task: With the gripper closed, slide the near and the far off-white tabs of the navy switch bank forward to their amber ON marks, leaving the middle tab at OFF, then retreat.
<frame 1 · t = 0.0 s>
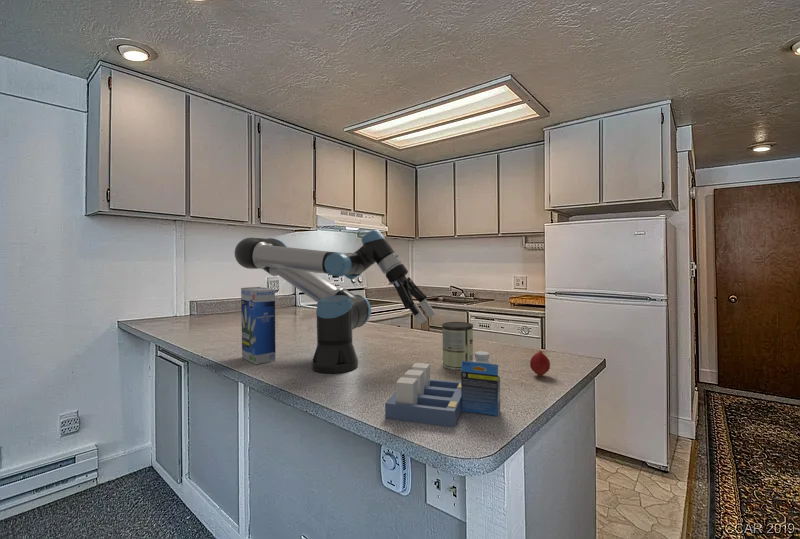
hand: (428, 319, 135), 15 cm above the countertop, tool tilted 35°, fingers open, 13 cm apart
supplement bottle: (481, 387, 111), on the countertop
tab middle: (414, 384, 98), point 5 cm above the countertop, slide at 0.0 cm
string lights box: (259, 359, 142), on the countertop
switch bank: (429, 406, 97), on the countertop
tab near: (407, 393, 92), point 5 cm above the countertop, slide at 0.0 cm
onion: (539, 376, 121), on the countertop
tab far: (420, 376, 105), point 5 cm above the countertop, slide at 0.0 cm
label tape box: (480, 412, 94), on the countertop
coffee can: (457, 366, 132), on the countertop
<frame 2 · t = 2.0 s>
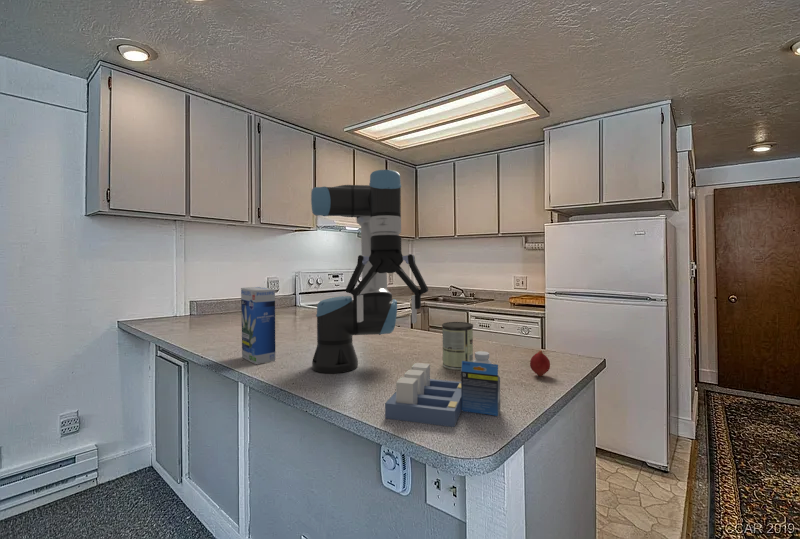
hand: (386, 322, 96), 21 cm above the countertop, tool pointing down, fingers open, 13 cm apart
nothing on the countertop moved.
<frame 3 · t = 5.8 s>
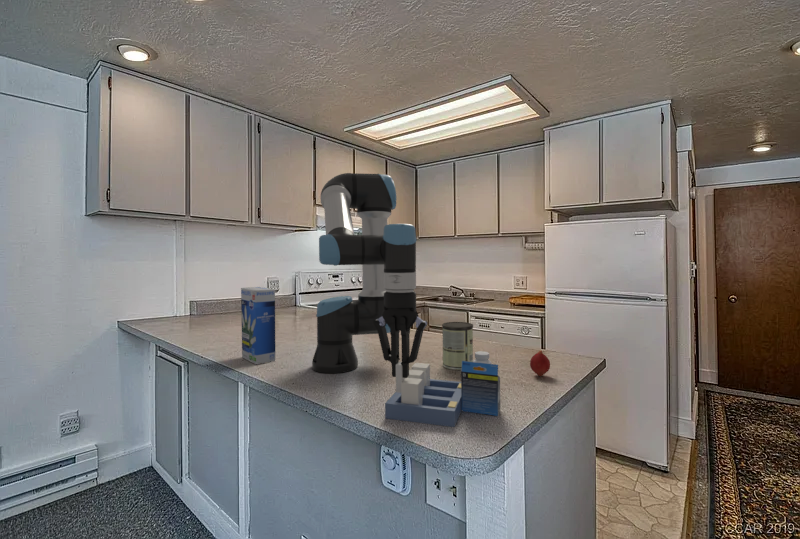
hand: (400, 390, 92), 6 cm above the countertop, tool pointing down, fingers closed
tab near: (412, 393, 92), point 5 cm above the countertop, slide at 1.2 cm, touching gripper
everything else where it was.
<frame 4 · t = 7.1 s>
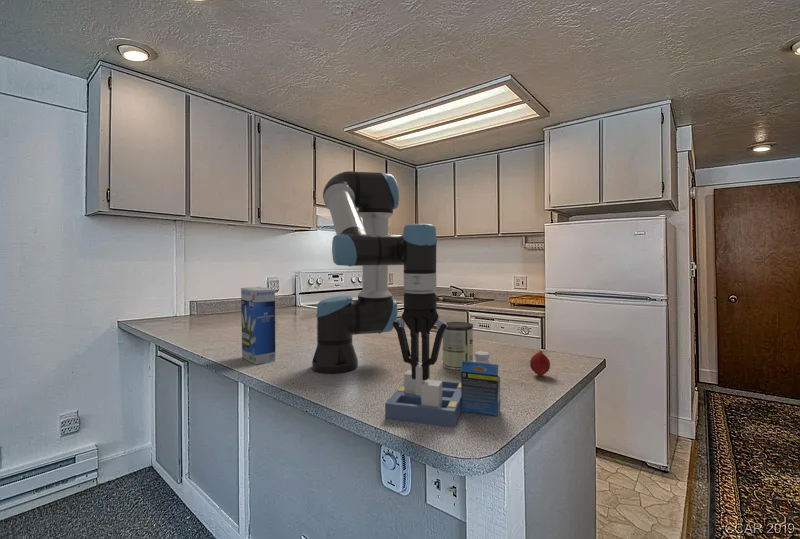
hand: (420, 393, 91), 5 cm above the countertop, tool pointing down, fingers closed
tab near: (431, 395, 90), point 5 cm above the countertop, slide at 6.0 cm, touching gripper
everything else where it was.
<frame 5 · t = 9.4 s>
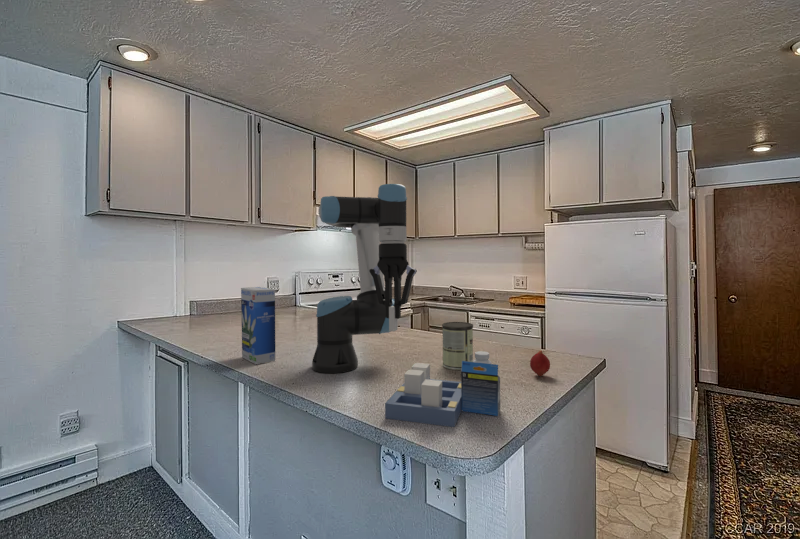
hand: (393, 330, 106), 17 cm above the countertop, tool pointing down, fingers closed
tab near: (431, 395, 90), point 5 cm above the countertop, slide at 6.0 cm
everything else where it was.
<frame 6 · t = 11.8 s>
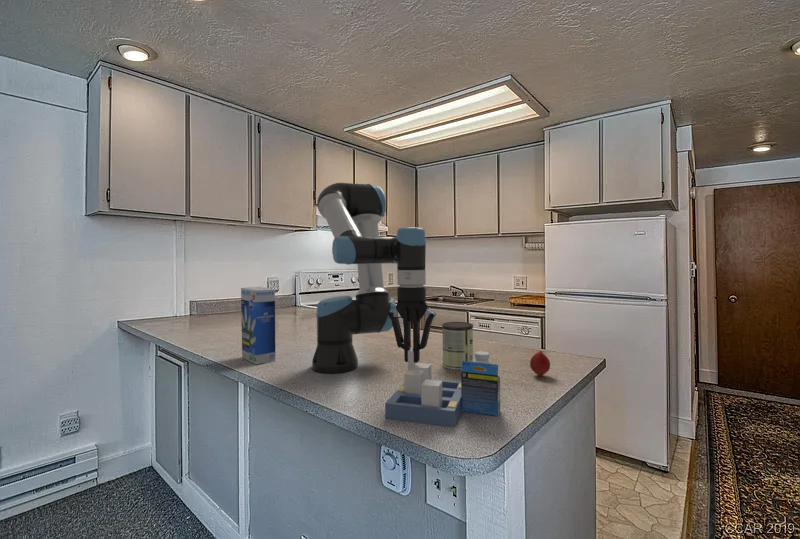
hand: (412, 374, 105), 6 cm above the countertop, tool pointing down, fingers closed
tab far: (422, 376, 104), point 5 cm above the countertop, slide at 0.4 cm, touching gripper
everything else where it was.
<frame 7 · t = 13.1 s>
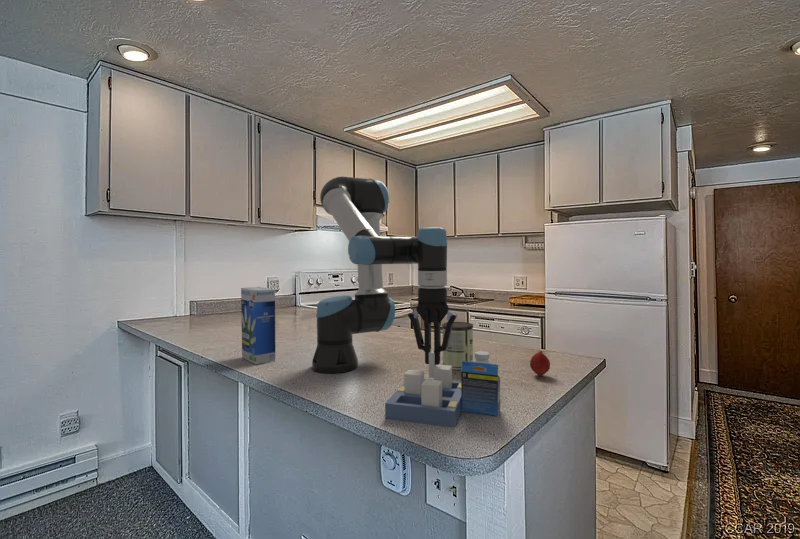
hand: (432, 376, 103), 5 cm above the countertop, tool pointing down, fingers closed
tab far: (443, 378, 103), point 5 cm above the countertop, slide at 6.0 cm, touching gripper
everything else where it was.
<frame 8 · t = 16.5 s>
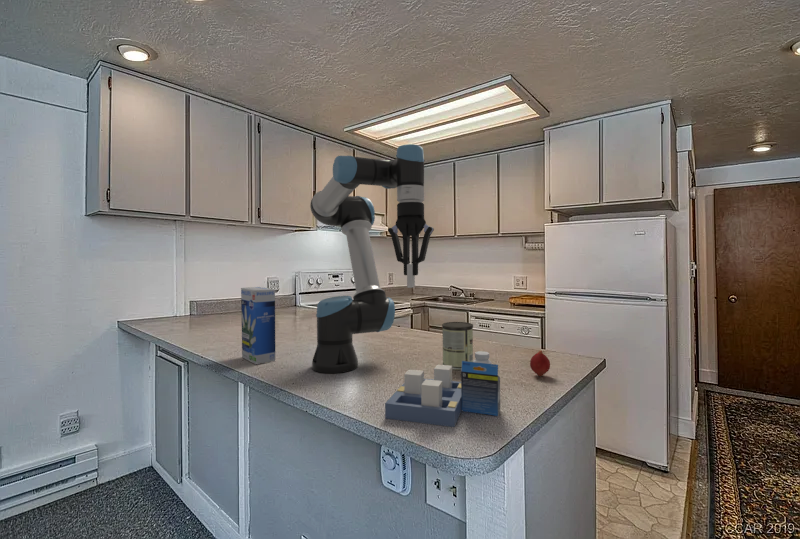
hand: (411, 287, 110), 28 cm above the countertop, tool pointing down, fingers closed
tab far: (443, 378, 103), point 5 cm above the countertop, slide at 6.0 cm
everything else where it was.
at the end: tab near slide at 6.0 cm; tab far slide at 6.0 cm; tab middle slide at 0.0 cm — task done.
